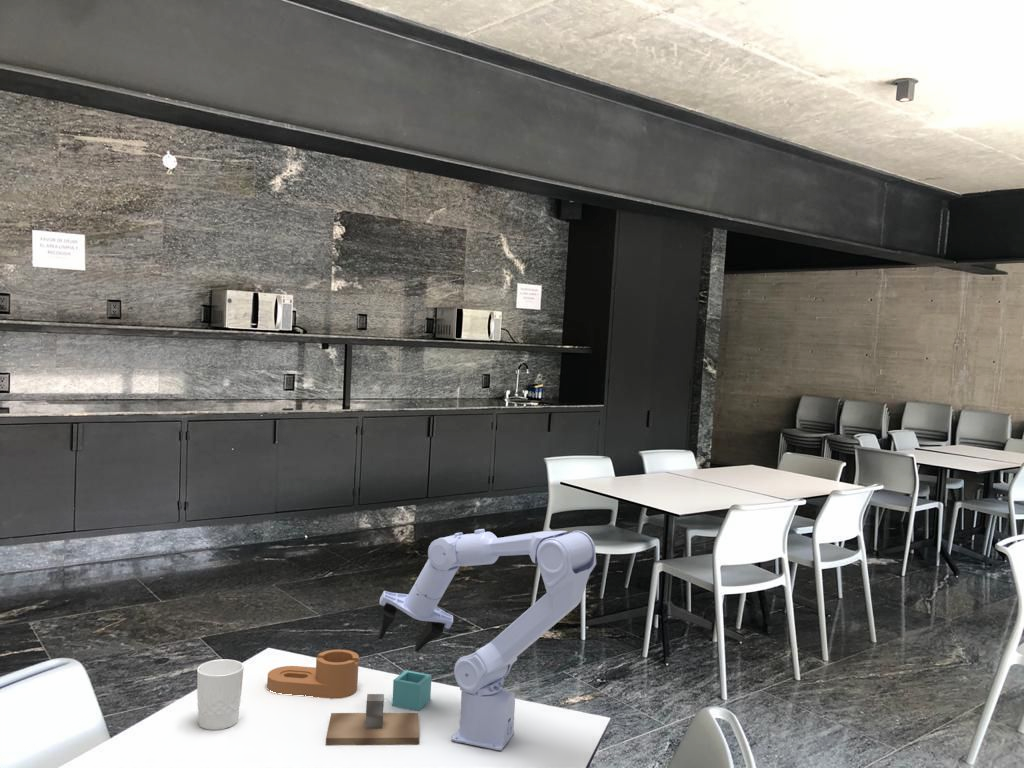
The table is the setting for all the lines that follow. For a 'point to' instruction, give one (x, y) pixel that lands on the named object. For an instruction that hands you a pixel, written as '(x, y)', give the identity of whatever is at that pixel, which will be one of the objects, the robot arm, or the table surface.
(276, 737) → the table surface
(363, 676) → the table surface
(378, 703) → the post stand
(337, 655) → the bracket
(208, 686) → the white cup
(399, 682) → the teal collar
